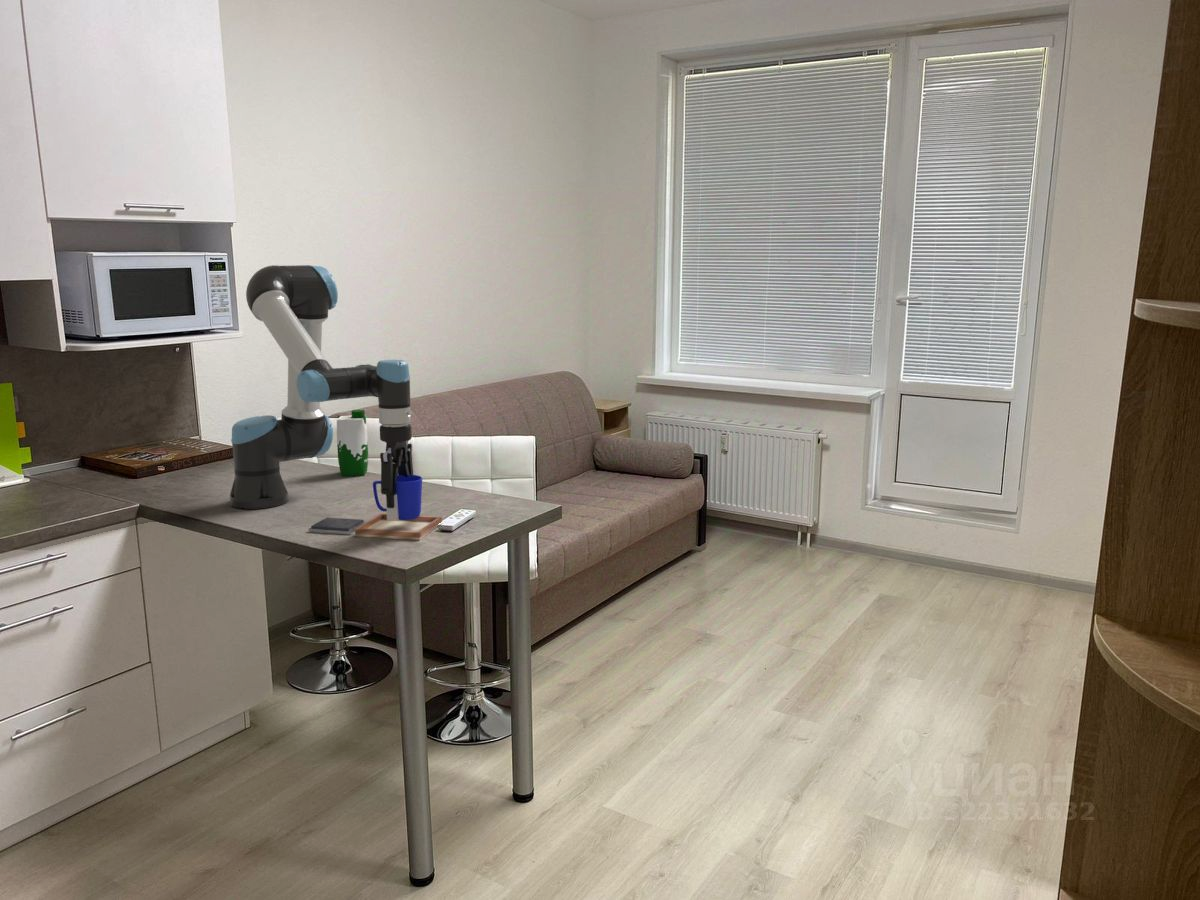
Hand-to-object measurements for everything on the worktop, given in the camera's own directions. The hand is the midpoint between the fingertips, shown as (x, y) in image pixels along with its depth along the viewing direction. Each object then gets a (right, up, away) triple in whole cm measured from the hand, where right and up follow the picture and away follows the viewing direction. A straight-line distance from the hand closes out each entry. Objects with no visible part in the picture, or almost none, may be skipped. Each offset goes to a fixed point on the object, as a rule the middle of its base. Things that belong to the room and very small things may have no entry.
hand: (399, 515), depth 225 cm
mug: (0, -1, 0) cm, 1 cm away
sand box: (0, -4, +1) cm, 4 cm away
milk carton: (-28, +9, +62) cm, 69 cm away
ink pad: (-16, -3, +2) cm, 16 cm away
